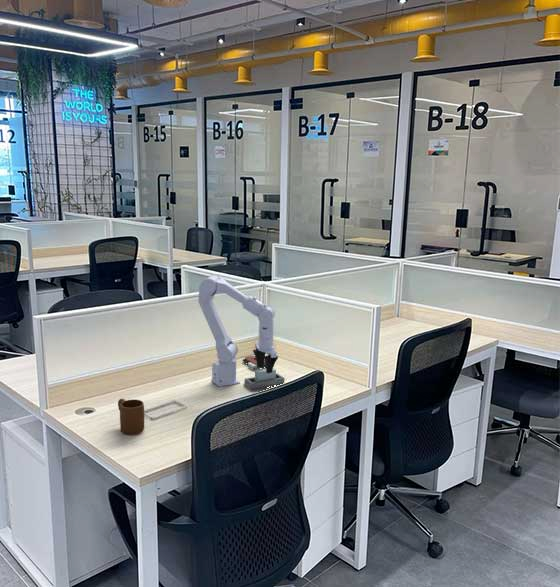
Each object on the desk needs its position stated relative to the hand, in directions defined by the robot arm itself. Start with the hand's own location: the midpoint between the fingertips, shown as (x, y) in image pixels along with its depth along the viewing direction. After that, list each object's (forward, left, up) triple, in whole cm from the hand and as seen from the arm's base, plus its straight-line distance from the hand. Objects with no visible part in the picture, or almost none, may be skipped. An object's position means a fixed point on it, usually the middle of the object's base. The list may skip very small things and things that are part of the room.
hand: (264, 369), depth 225 cm
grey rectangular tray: (0, 0, -7) cm, 7 cm away
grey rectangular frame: (-44, -7, -7) cm, 45 cm away
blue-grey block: (0, 0, -6) cm, 6 cm away
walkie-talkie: (+8, +21, -7) cm, 23 cm away
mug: (-59, -16, -7) cm, 61 cm away
